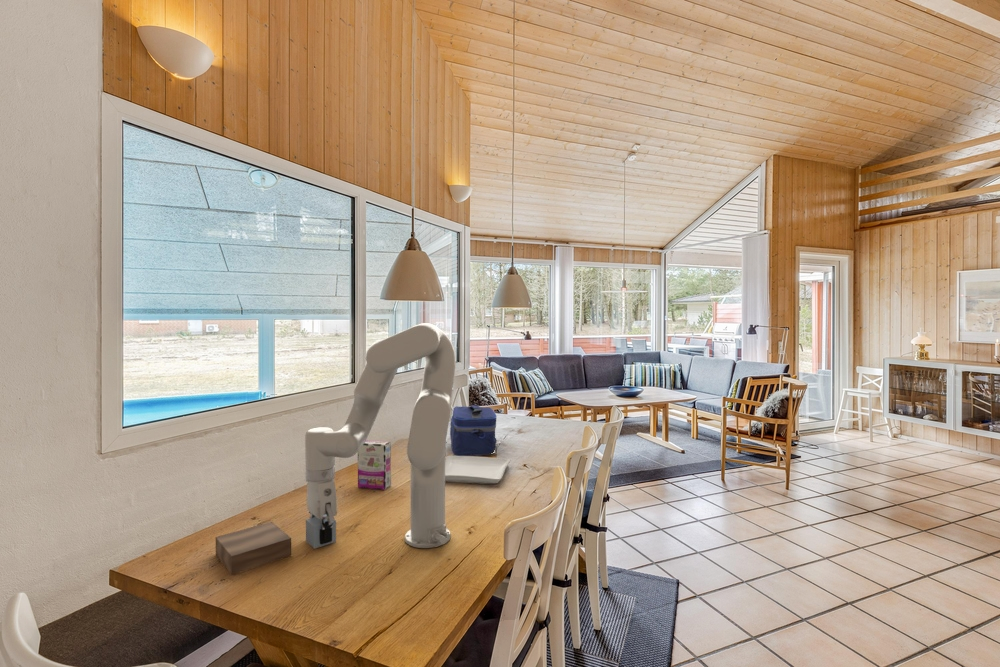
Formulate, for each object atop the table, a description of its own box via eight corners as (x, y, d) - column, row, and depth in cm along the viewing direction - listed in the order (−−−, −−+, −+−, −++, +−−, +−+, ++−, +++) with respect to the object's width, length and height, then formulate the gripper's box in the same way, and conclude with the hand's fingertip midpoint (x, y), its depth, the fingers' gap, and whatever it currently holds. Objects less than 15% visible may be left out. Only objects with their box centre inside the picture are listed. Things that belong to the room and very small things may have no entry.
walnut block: (291, 557, 126) (291, 538, 126) (231, 576, 116) (231, 556, 116) (272, 539, 136) (272, 521, 136) (215, 556, 126) (215, 537, 126)
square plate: (500, 488, 178) (501, 478, 177) (428, 484, 182) (428, 474, 182) (511, 466, 204) (511, 457, 204) (447, 463, 209) (447, 454, 208)
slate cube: (336, 541, 134) (335, 520, 134) (314, 548, 130) (314, 526, 130) (327, 534, 138) (327, 513, 138) (305, 541, 134) (305, 519, 134)
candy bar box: (391, 485, 179) (391, 441, 178) (385, 490, 174) (385, 444, 174) (364, 483, 182) (363, 439, 181) (357, 487, 177) (356, 442, 176)
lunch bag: (500, 457, 217) (500, 411, 217) (452, 459, 214) (452, 412, 213) (490, 439, 248) (490, 399, 247) (449, 441, 245) (449, 400, 244)
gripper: (347, 478, 130) (347, 545, 130) (321, 463, 142) (321, 524, 143) (319, 484, 125) (320, 554, 125) (294, 469, 137) (295, 532, 138)
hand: (320, 537), depth 134 cm, fingers closed on slate cube, 6 cm apart
